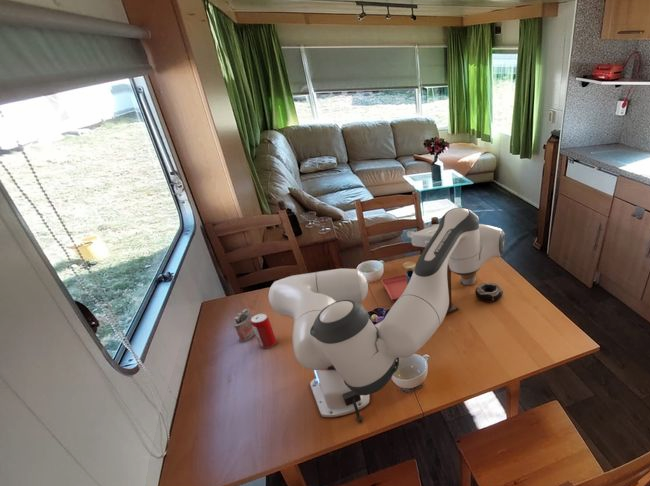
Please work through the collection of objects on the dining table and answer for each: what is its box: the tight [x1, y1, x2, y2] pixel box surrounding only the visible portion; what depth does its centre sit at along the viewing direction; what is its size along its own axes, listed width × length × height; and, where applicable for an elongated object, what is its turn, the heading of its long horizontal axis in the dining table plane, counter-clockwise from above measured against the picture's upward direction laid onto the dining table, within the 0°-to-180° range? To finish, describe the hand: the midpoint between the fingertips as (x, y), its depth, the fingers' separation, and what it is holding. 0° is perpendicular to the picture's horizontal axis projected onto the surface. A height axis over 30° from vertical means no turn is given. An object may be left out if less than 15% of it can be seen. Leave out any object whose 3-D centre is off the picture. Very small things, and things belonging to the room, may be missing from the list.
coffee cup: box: [460, 272, 477, 286], centre depth 170 cm, size 8×8×15 cm
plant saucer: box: [381, 273, 407, 303], centre depth 167 cm, size 18×18×3 cm
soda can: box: [251, 313, 277, 349], centre depth 134 cm, size 6×6×12 cm
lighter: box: [232, 308, 256, 343], centre depth 139 cm, size 8×3×10 cm, turn 168°
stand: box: [445, 265, 459, 317], centre depth 148 cm, size 8×8×28 cm
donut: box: [474, 282, 504, 303], centre depth 163 cm, size 12×12×4 cm
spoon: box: [402, 261, 417, 272], centre depth 139 cm, size 21×5×1 cm, turn 41°
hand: (417, 230), depth 120 cm, fingers open, 8 cm apart
